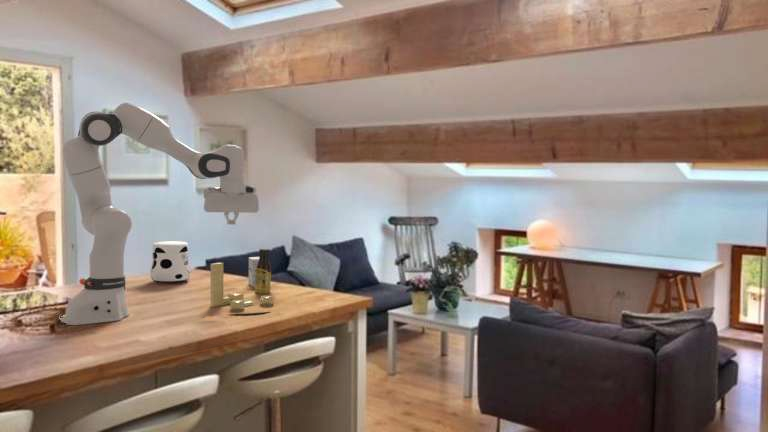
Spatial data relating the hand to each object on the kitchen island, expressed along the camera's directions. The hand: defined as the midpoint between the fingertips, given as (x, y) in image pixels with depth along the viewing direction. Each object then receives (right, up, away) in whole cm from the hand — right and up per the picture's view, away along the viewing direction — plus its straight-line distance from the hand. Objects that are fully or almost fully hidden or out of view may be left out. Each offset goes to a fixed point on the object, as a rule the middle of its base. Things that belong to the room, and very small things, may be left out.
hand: (231, 224), depth 241 cm
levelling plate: (+6, -32, 0) cm, 33 cm away
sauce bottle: (+7, -30, +25) cm, 40 cm away
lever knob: (-2, -30, +2) cm, 30 cm away
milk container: (-40, -28, +52) cm, 71 cm away
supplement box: (+1, -29, +48) cm, 56 cm away
